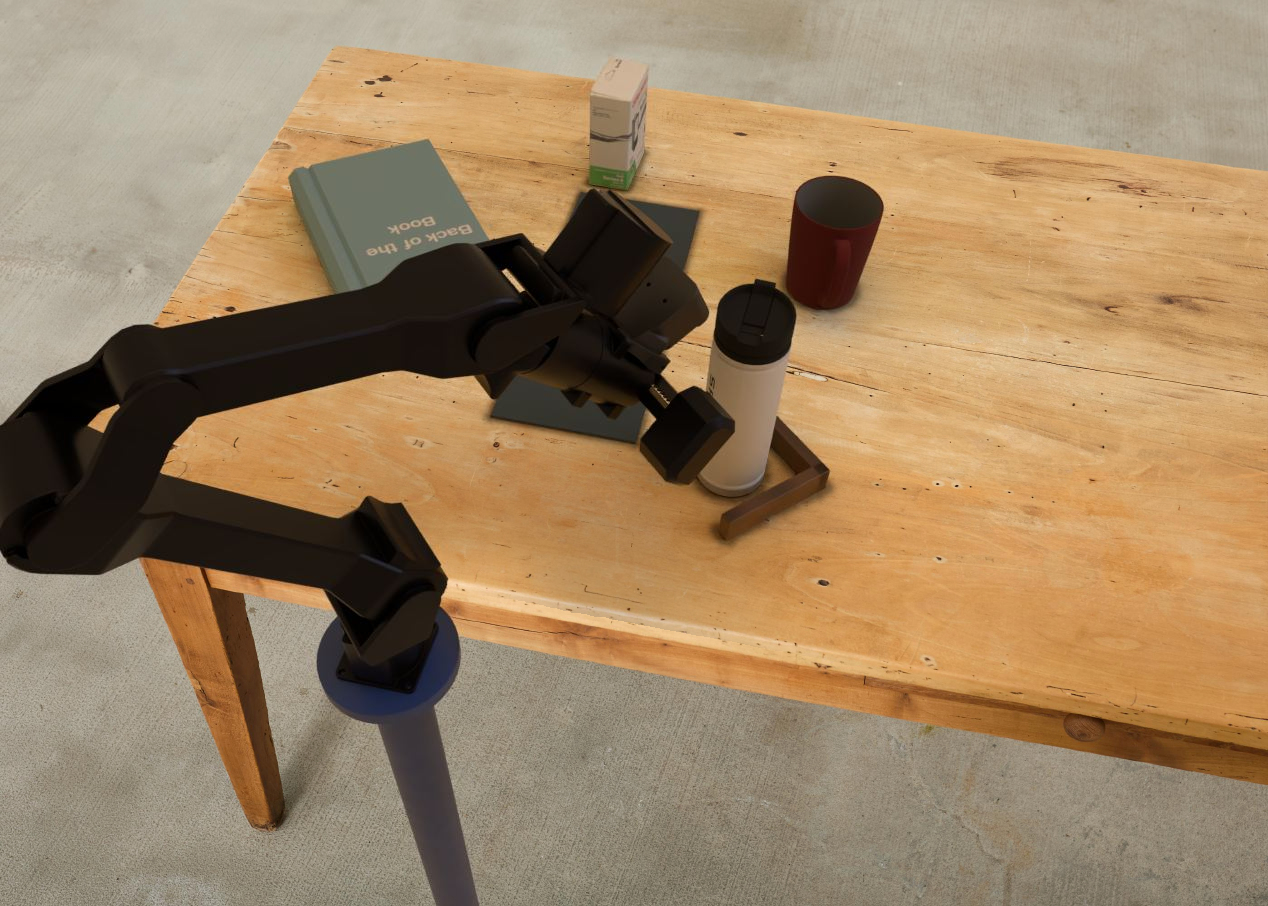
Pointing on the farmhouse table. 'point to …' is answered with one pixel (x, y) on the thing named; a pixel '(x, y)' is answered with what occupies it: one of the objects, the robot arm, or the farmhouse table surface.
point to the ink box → (617, 123)
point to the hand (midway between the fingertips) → (689, 398)
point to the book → (380, 211)
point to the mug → (830, 239)
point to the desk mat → (556, 412)
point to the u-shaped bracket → (784, 494)
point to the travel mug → (748, 381)
